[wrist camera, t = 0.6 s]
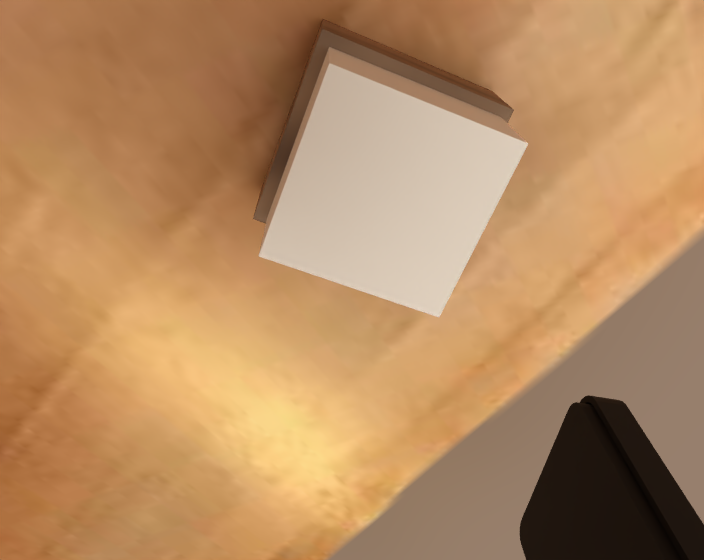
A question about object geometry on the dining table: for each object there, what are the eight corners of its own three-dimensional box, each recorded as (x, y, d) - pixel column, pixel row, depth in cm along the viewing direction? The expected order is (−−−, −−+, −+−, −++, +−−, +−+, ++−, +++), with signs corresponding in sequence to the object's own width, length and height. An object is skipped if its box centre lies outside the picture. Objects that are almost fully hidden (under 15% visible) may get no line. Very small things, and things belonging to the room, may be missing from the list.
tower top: (329, 46, 31) (329, 63, 27) (501, 117, 33) (528, 143, 28) (267, 216, 35) (258, 256, 30) (425, 272, 36) (439, 317, 32)
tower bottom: (322, 18, 35) (322, 28, 31) (491, 90, 37) (513, 110, 33) (261, 188, 39) (253, 219, 35) (416, 245, 41) (427, 281, 37)
